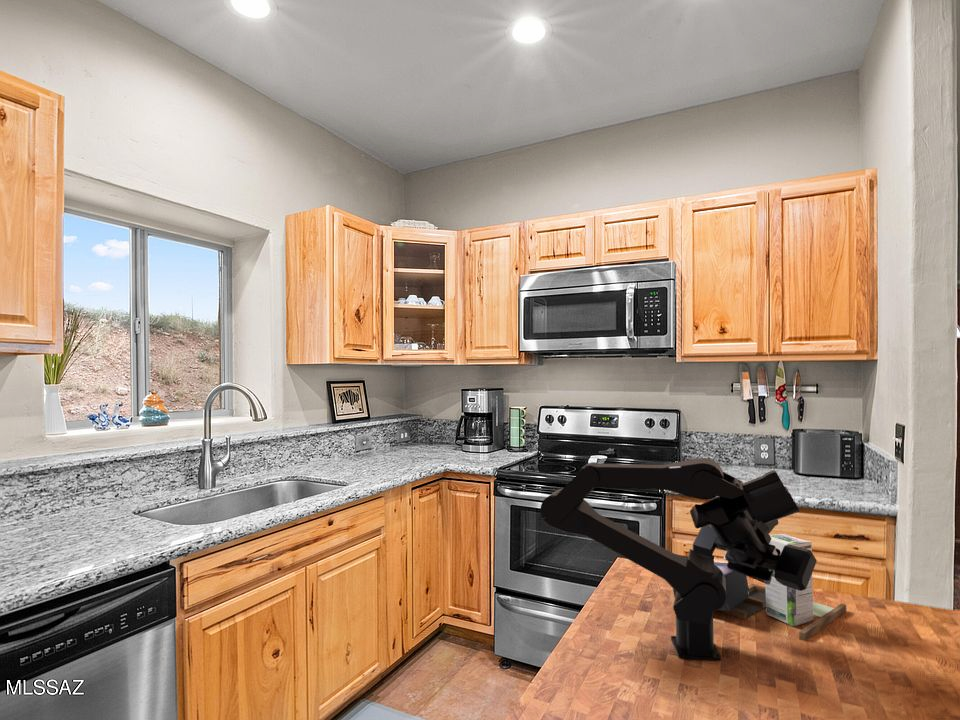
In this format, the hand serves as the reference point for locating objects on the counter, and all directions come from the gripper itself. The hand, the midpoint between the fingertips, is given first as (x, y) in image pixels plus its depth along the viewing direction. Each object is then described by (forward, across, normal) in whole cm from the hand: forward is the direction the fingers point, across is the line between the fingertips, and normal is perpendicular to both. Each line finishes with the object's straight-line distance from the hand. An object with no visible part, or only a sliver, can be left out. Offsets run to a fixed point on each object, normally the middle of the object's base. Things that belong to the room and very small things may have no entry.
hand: (768, 581), depth 95 cm
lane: (+14, +3, -1) cm, 14 cm away
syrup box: (+12, +1, 0) cm, 13 cm away
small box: (+5, +18, +3) cm, 19 cm away
